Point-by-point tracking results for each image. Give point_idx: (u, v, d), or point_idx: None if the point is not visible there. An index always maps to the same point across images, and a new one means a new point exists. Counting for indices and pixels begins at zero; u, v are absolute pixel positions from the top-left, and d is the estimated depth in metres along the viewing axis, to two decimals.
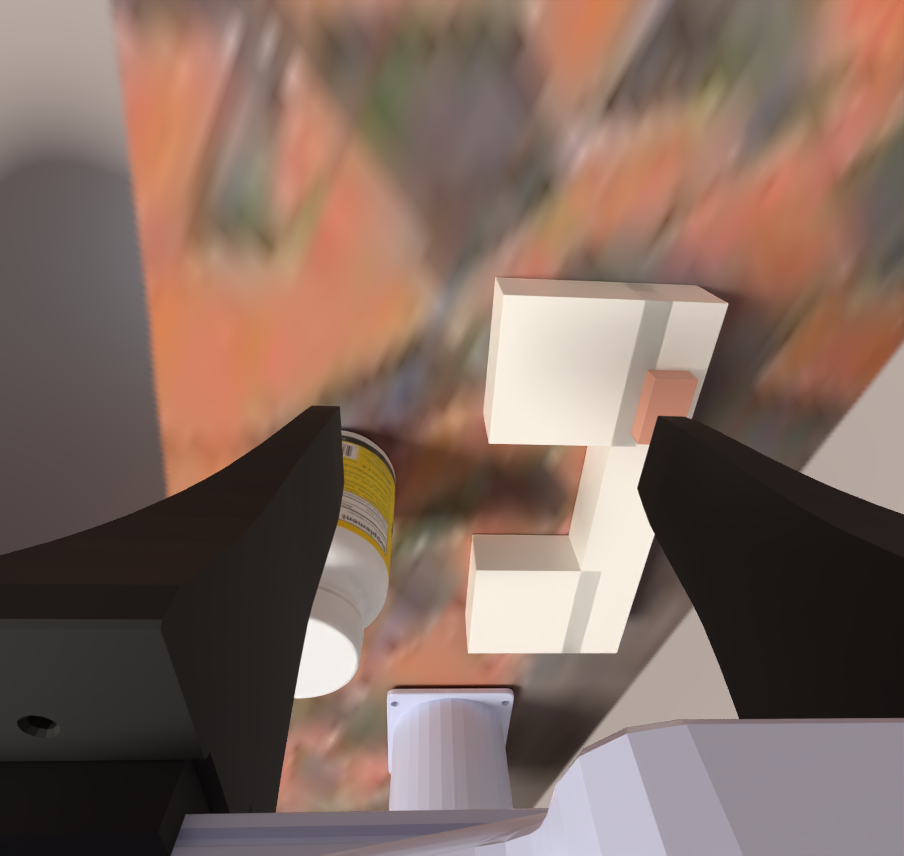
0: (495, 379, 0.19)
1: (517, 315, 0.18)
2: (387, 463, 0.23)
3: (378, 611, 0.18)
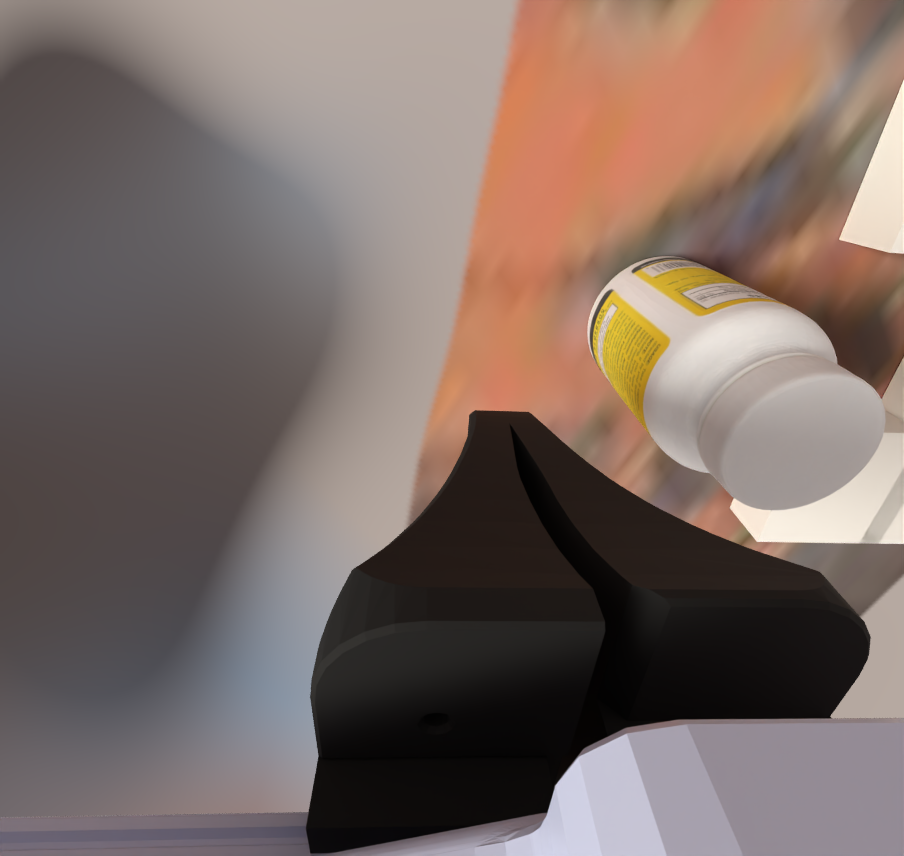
0: None
1: None
2: None
3: None
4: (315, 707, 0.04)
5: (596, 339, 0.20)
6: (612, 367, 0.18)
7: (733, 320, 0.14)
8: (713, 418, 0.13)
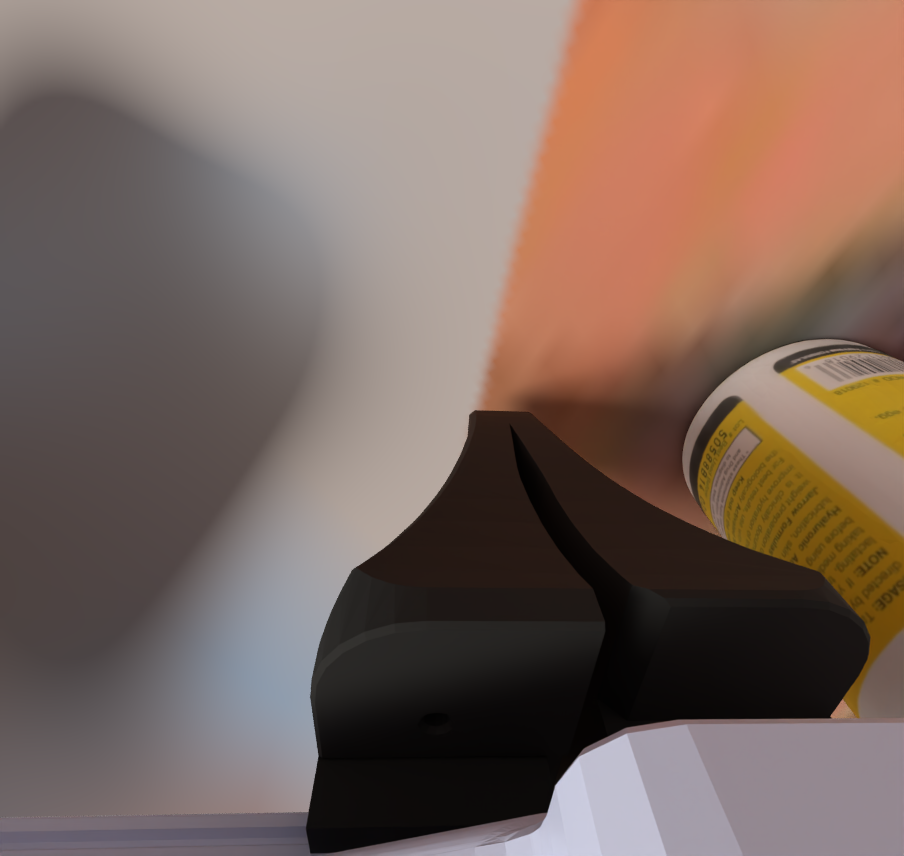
0: None
1: None
2: None
3: None
4: (315, 707, 0.04)
5: (707, 478, 0.12)
6: (752, 547, 0.10)
7: None
8: None
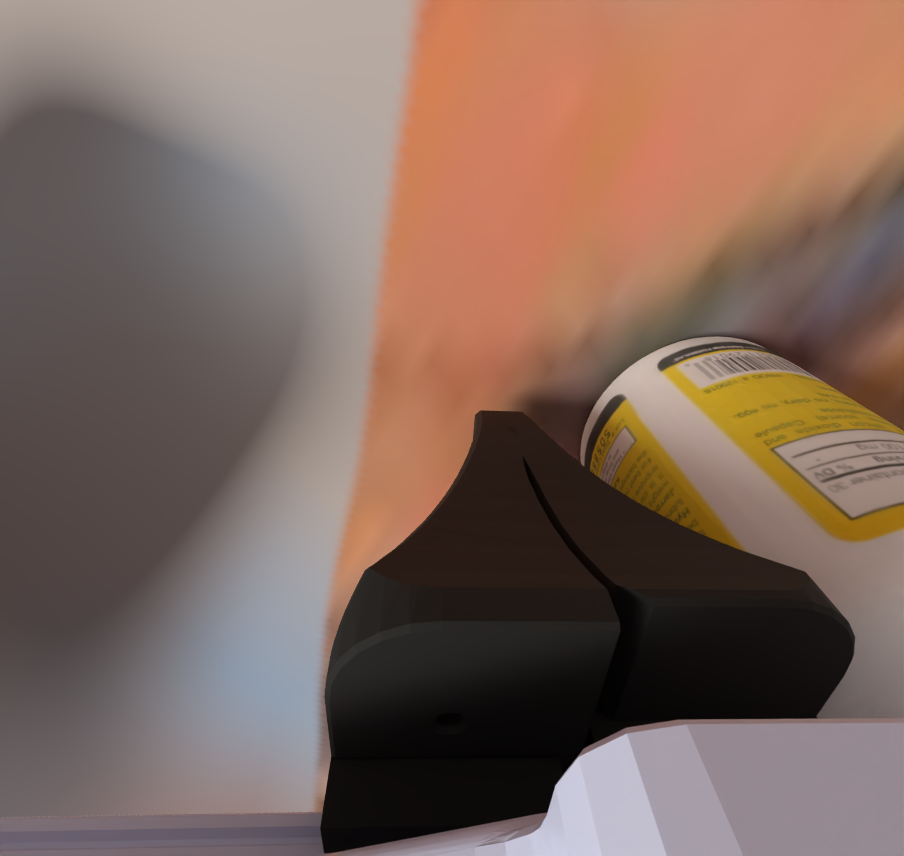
0: None
1: None
2: None
3: None
4: (329, 707, 0.05)
5: None
6: None
7: None
8: None
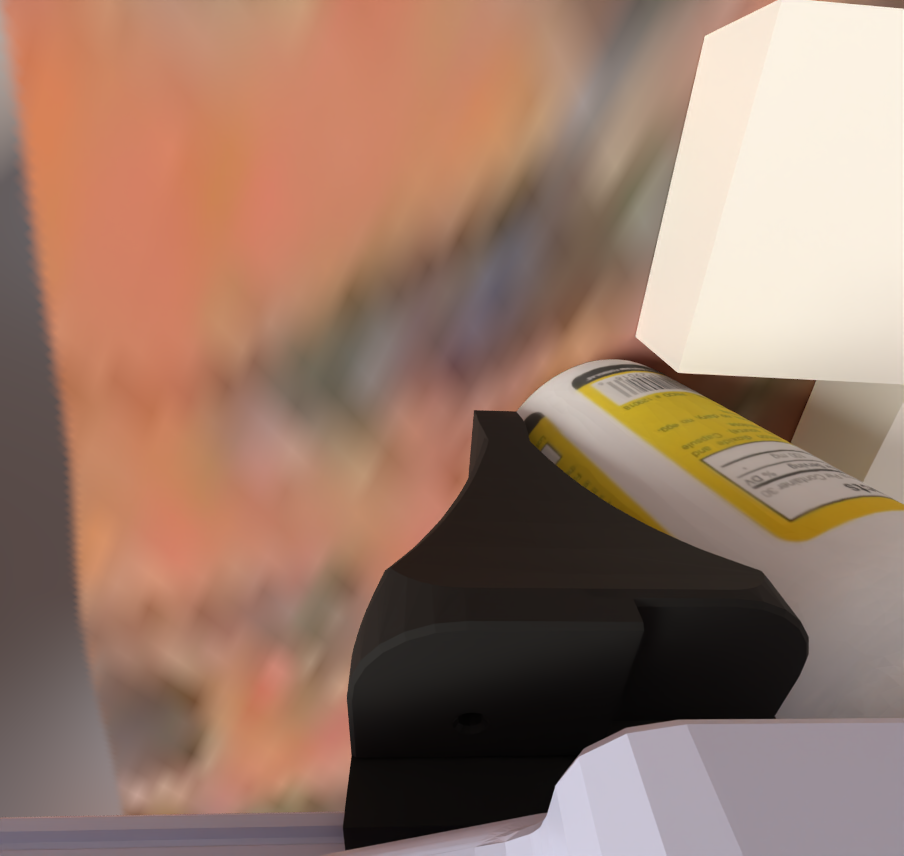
0: (717, 226, 0.09)
1: (800, 59, 0.08)
2: None
3: None
4: (352, 707, 0.05)
5: None
6: None
7: (880, 571, 0.06)
8: None
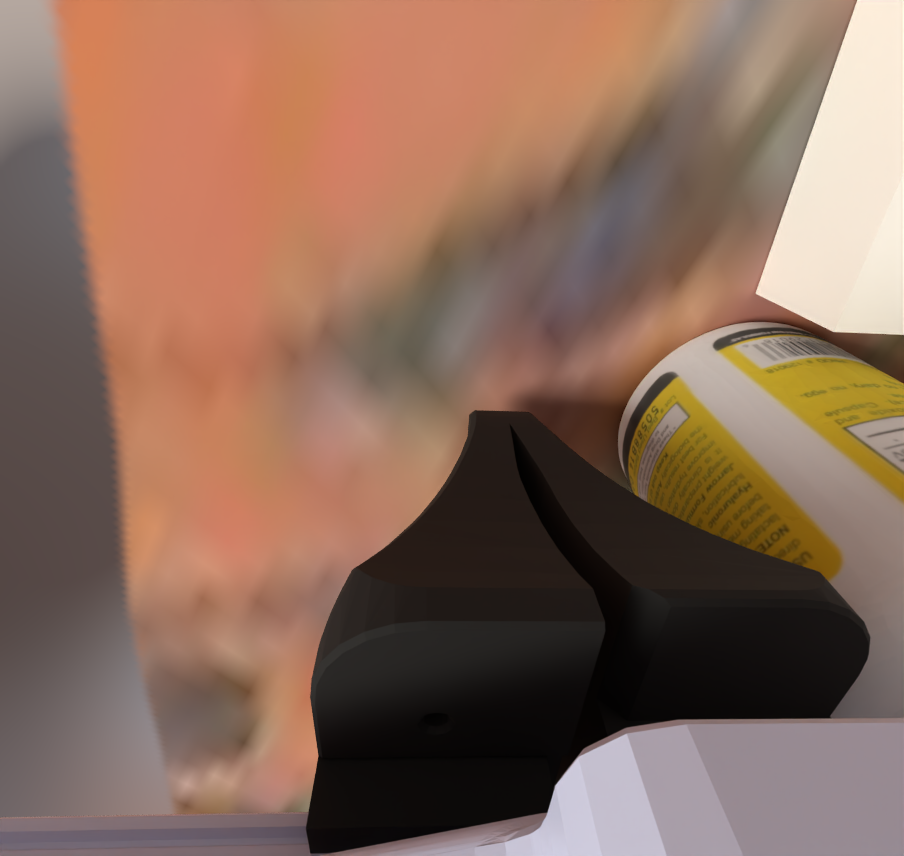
0: None
1: None
2: None
3: None
4: (315, 707, 0.04)
5: (636, 456, 0.11)
6: None
7: None
8: None
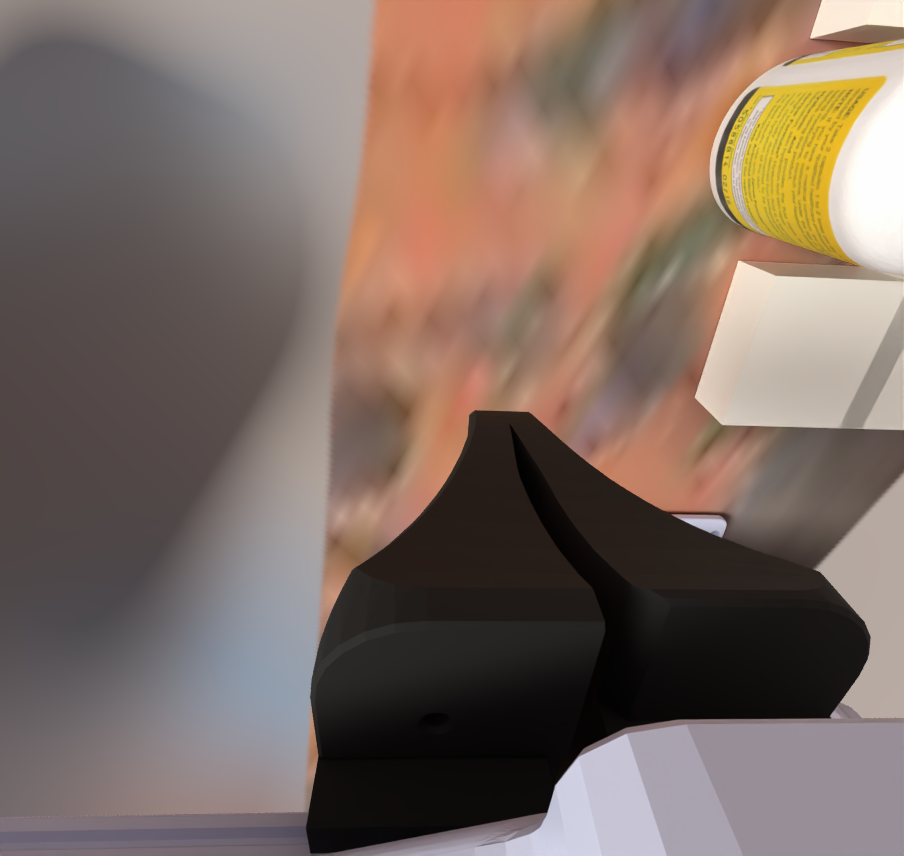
0: None
1: None
2: None
3: None
4: (315, 707, 0.04)
5: (731, 149, 0.17)
6: (763, 165, 0.15)
7: None
8: None
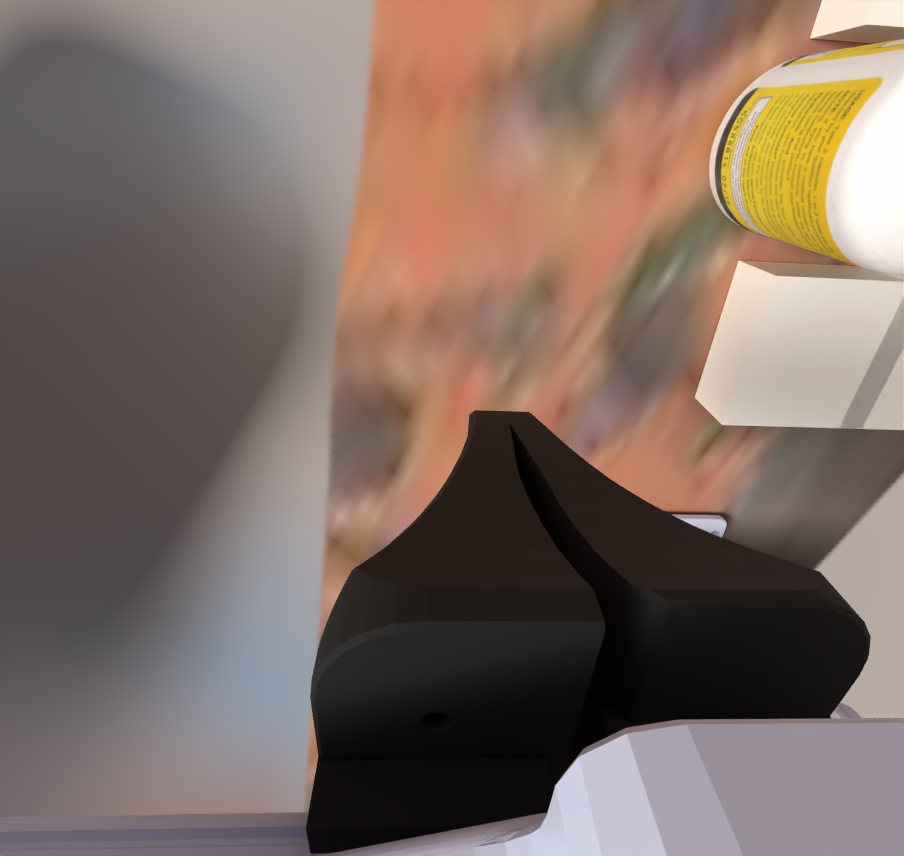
0: None
1: None
2: None
3: None
4: (315, 707, 0.04)
5: (730, 151, 0.17)
6: (761, 166, 0.15)
7: None
8: None
